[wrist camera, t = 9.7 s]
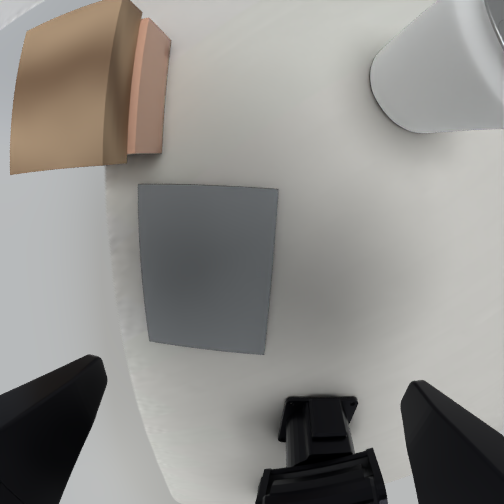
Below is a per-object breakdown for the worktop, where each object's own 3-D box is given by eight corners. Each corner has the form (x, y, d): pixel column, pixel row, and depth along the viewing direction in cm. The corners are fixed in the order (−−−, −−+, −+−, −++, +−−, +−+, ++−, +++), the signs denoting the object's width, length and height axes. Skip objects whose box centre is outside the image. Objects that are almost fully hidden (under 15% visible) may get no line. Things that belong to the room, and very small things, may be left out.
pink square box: (161, 153, 18) (134, 153, 14) (66, 159, 18) (31, 162, 14) (171, 40, 15) (149, 17, 11) (75, 59, 15) (43, 48, 12)
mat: (264, 351, 22) (264, 354, 21) (151, 338, 22) (149, 341, 22) (278, 189, 18) (278, 189, 17) (140, 183, 18) (138, 184, 18)
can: (349, 60, 15) (438, -38, 4) (420, 36, 14) (524, -30, 2) (397, 148, 16) (538, 154, 5) (462, 116, 15) (592, 110, 4)
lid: (126, 163, 14) (102, 165, 12) (36, 170, 14) (10, 175, 12) (142, 12, 11) (123, -6, 9) (50, 39, 11) (26, 31, 9)
